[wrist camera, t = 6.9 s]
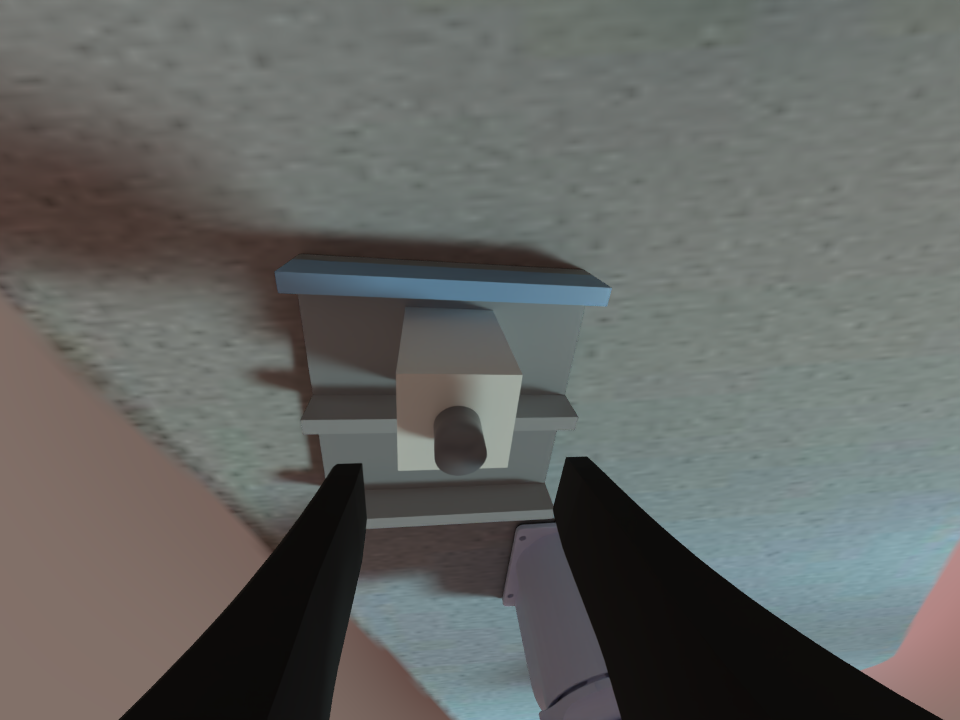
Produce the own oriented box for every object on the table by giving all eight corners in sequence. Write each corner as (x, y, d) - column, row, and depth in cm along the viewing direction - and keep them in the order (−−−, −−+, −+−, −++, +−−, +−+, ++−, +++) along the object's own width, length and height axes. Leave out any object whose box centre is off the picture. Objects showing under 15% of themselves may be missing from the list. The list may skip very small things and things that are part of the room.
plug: (484, 383, 19) (516, 500, 12) (406, 382, 18) (394, 505, 12) (492, 310, 17) (534, 401, 10) (405, 306, 16) (391, 401, 10)
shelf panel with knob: (538, 480, 24) (552, 518, 21) (332, 488, 22) (320, 531, 19) (584, 269, 18) (611, 288, 15) (299, 253, 16) (274, 271, 13)
